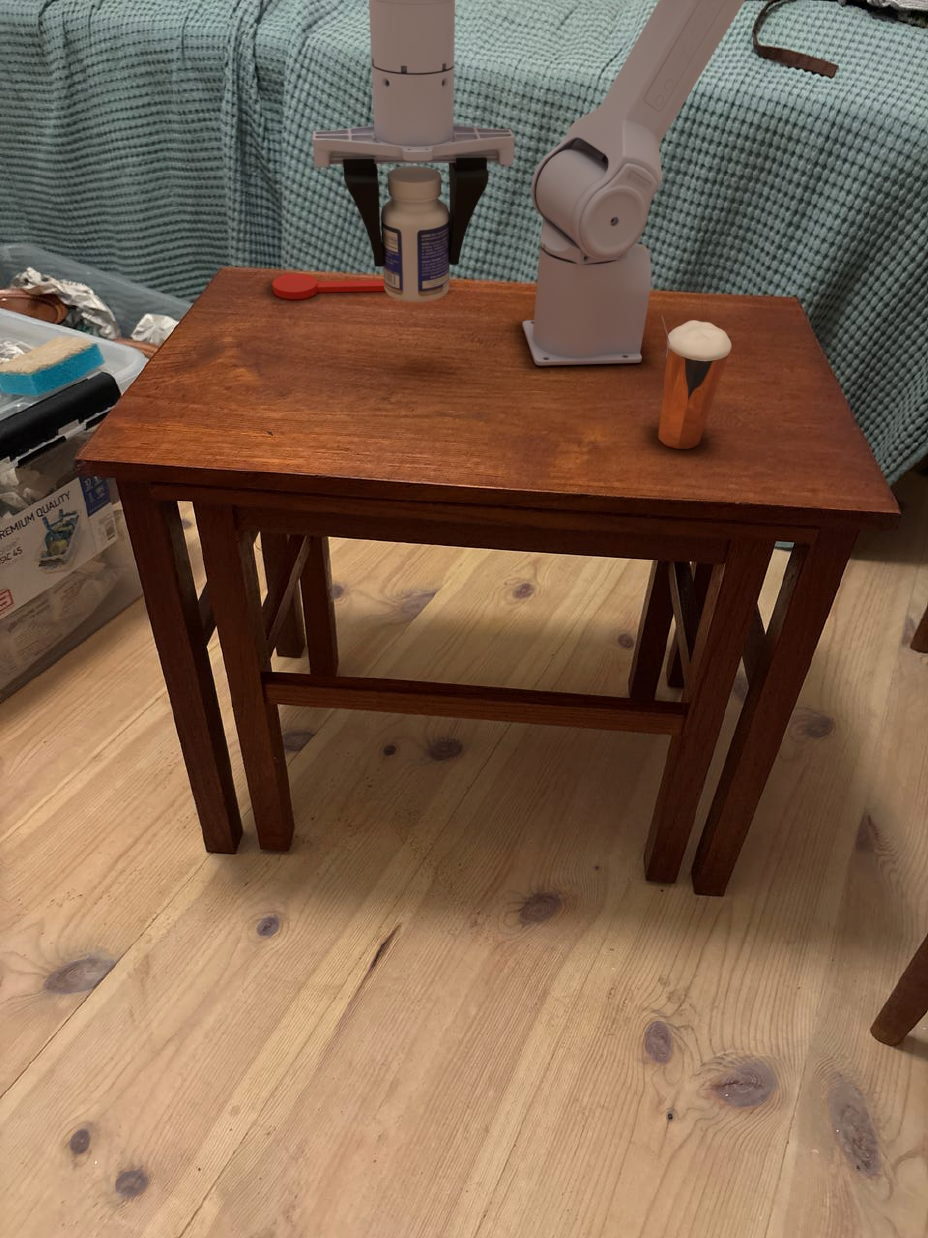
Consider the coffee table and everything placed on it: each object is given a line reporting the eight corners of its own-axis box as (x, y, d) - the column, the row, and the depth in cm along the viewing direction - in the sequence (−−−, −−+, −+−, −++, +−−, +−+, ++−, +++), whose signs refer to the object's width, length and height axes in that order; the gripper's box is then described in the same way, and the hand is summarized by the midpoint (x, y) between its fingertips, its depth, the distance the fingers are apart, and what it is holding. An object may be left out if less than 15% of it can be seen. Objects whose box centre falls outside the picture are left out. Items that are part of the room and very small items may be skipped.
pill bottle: (452, 278, 76) (454, 164, 70) (445, 306, 72) (447, 187, 66) (388, 275, 76) (384, 160, 70) (378, 302, 73) (374, 183, 67)
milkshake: (633, 423, 73) (654, 302, 67) (699, 422, 74) (727, 302, 67) (646, 455, 70) (669, 331, 63) (714, 454, 71) (745, 330, 64)
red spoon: (436, 278, 93) (436, 270, 93) (440, 296, 90) (440, 288, 89) (274, 281, 92) (273, 273, 91) (272, 300, 88) (271, 291, 88)
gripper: (306, 79, 60) (323, 284, 69) (526, 78, 61) (514, 279, 71) (307, 53, 65) (322, 247, 74) (510, 53, 66) (500, 243, 76)
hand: (415, 260), depth 73 cm, fingers closed on pill bottle, 5 cm apart
